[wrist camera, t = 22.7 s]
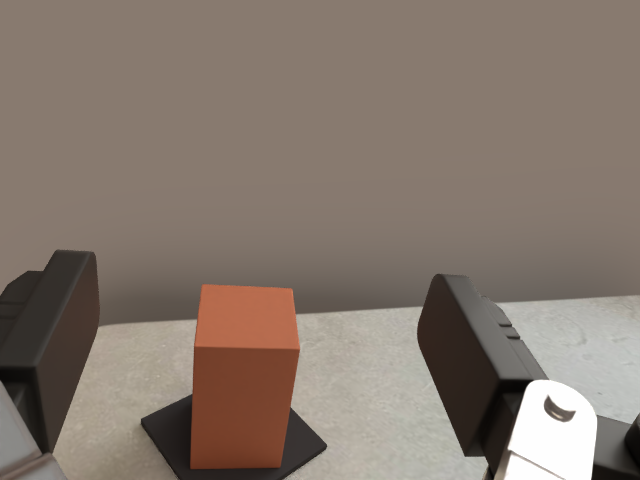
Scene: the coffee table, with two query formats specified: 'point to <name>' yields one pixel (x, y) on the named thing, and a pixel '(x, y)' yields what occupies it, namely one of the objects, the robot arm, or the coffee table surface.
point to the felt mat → (175, 445)
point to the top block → (242, 376)
